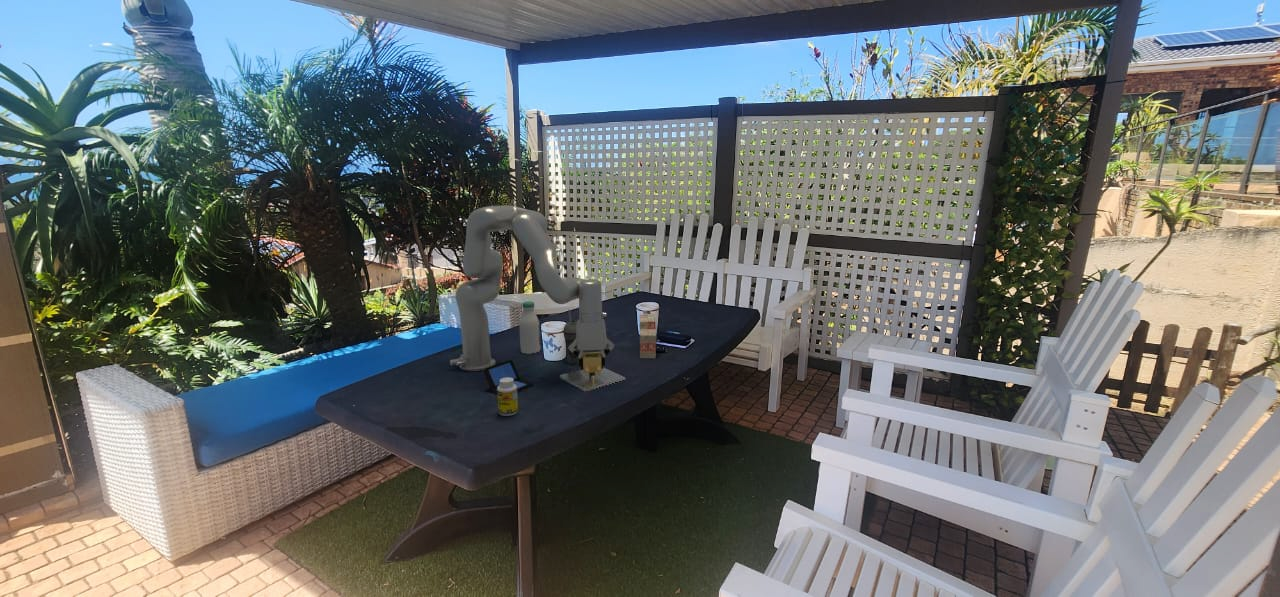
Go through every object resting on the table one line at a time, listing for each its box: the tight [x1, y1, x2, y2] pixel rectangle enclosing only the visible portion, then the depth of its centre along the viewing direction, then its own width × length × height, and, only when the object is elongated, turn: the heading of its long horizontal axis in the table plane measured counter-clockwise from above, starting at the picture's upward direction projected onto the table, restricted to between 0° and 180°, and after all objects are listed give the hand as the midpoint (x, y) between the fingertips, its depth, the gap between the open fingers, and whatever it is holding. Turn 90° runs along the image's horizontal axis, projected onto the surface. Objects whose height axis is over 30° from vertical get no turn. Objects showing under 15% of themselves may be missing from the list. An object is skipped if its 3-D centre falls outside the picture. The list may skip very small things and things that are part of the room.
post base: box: [559, 356, 626, 393], centre depth 180 cm, size 16×16×8 cm
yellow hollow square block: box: [582, 351, 602, 376], centre depth 178 cm, size 10×6×5 cm, turn 9°
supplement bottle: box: [496, 377, 519, 417], centre depth 154 cm, size 6×6×10 cm
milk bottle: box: [519, 300, 541, 355], centre depth 209 cm, size 8×8×20 cm
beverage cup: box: [562, 309, 579, 364], centre depth 197 cm, size 7×7×20 cm
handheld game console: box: [482, 359, 534, 395], centre depth 173 cm, size 12×11×7 cm
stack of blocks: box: [639, 313, 657, 359], centre depth 211 cm, size 21×6×12 cm, turn 0°
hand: (592, 367), depth 180 cm, fingers closed on yellow hollow square block, 6 cm apart
